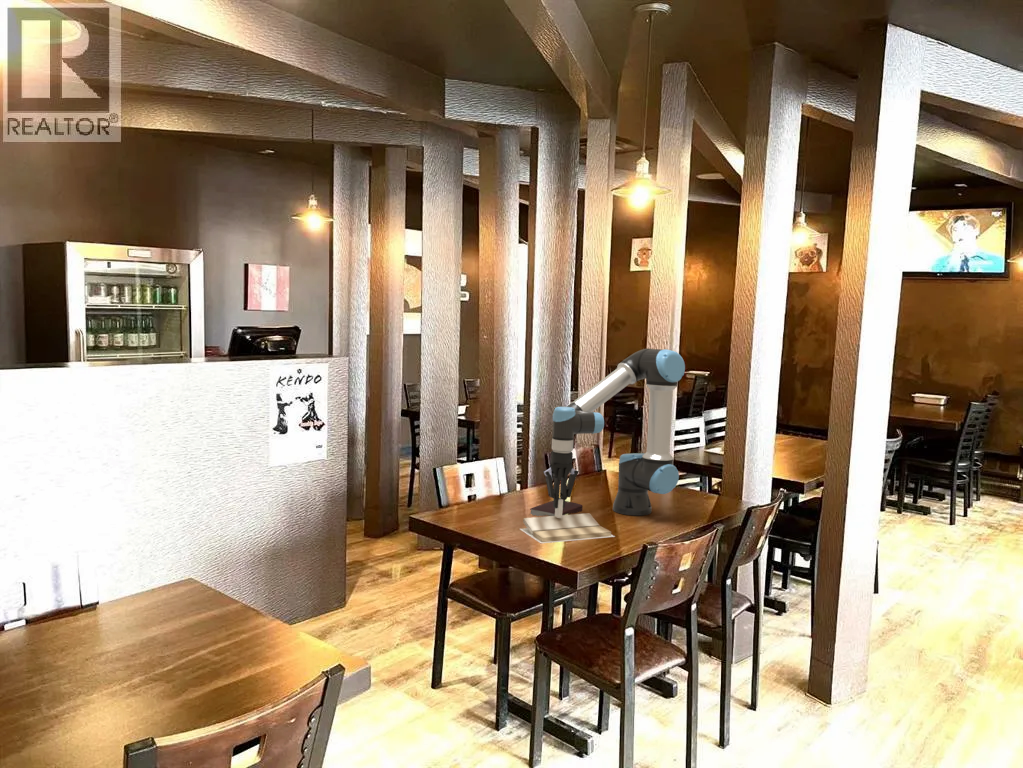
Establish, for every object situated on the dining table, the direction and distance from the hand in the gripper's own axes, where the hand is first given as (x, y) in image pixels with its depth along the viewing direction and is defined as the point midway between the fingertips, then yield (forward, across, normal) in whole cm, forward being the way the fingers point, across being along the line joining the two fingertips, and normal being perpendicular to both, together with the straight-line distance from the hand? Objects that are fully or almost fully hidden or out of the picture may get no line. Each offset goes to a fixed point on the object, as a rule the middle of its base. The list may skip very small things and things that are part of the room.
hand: (558, 516), depth 266 cm
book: (+6, -11, -24) cm, 27 cm away
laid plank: (+4, 0, +10) cm, 11 cm away
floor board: (+5, 0, +6) cm, 8 cm away
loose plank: (+3, 0, +1) cm, 3 cm away
